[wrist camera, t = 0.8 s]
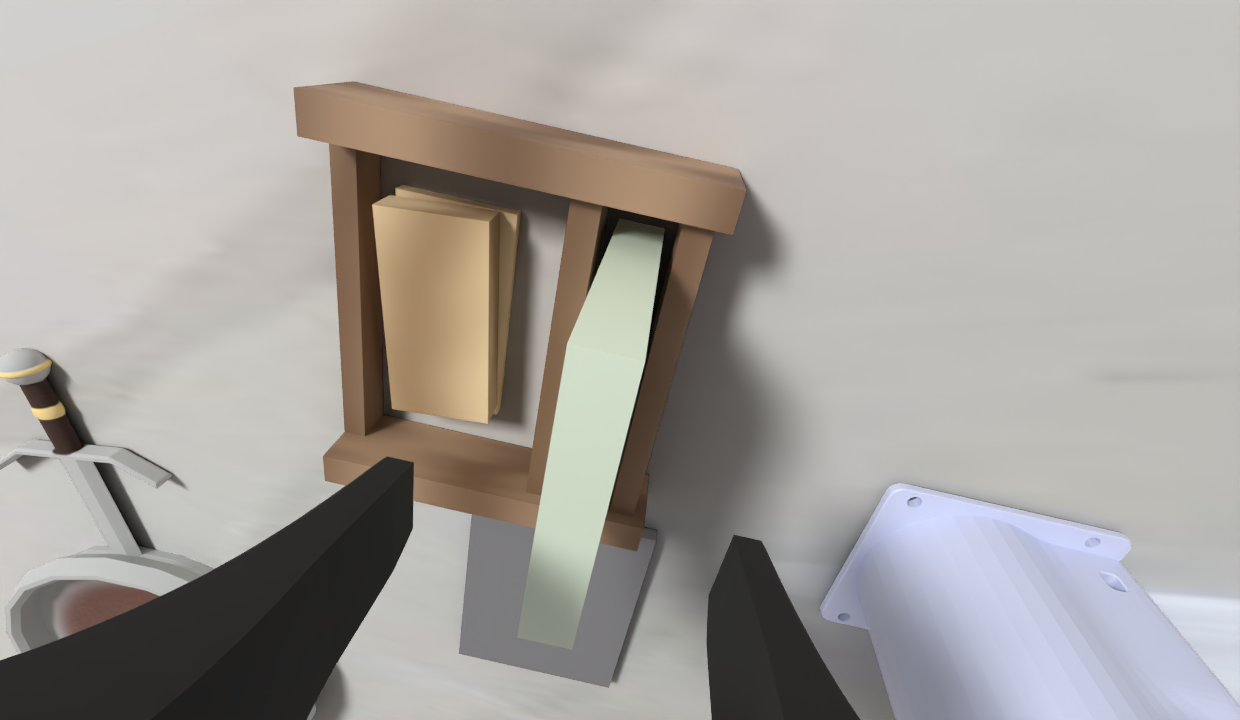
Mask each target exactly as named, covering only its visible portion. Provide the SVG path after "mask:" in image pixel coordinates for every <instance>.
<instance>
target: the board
mask: <svg viewBox="0 0 1240 720" xmlns="http://www.w3.org/2000/svg"><path fill="white" fill-rule="evenodd" d="M664 230H665V229H664V228H660V227H655V226H651V225H646V224H642V223H638V222H633V221H629V220H624V219H619V221H618V224H617V226H616V228H615V231H614V233H613V235H612V238H611V240H610V243H609V245H608V247H607V250H606V252H605V255H604V257H603V259H602V262H601V264H600V266H599V269H598V271H597V274H596V276H595V278H594V281H593V283H592V286H591V288H590V290H589V293H588V295H587V298H586V300H585V302H584V305H583V307H582V309H581V312H580V314H579V317H578V319H577V321H576V324H575V326H574V329H573V331H572V333H571V336H570V338H569V340H568V343H567V348H566V354H565V359H564V365H563V371H562V377H561V383H560V389H559V394H558V400H557V406H556V412H555V418H554V424H553V429H552V435H551V441H550V447H549V453H548V459H547V464H546V470H545V476H544V482H543V488H542V494H541V499H540V505H539V511H538V517H537V523H536V529H535V534H534V540H533V546H532V552H531V558H530V564H529V569H528V575H527V581H526V587H525V593H524V599H523V604H522V610H521V616H520V622H519V628H518V634H517V638H522V639H526V640H531V641H535V642H539V643H544V644H548V645H553V646H557V647H561V648H566V649H570V650H572V648H573V644H574V640H575V637H576V633H577V629H578V625H579V621H580V617H581V613H582V609H583V605H584V601H585V597H586V593H587V589H588V585H589V581H590V577H591V573H592V569H593V565H594V561H595V558H596V554H597V550H598V546H599V542H600V538H601V534H602V530H603V526H604V522H605V518H606V514H607V510H608V506H609V502H610V498H611V494H612V490H613V486H614V483H615V479H616V475H617V471H618V467H619V463H620V459H621V455H622V451H623V447H624V443H625V439H626V435H627V431H628V427H629V423H630V419H631V415H632V411H633V408H634V404H635V400H636V396H637V392H638V388H639V384H640V380H641V376H642V372H643V368H644V364H645V359H646V353H647V346H648V339H649V332H650V325H651V319H652V312H653V305H654V298H655V291H656V285H657V278H658V271H659V264H660V257H661V251H662V244H663V237H664Z"/></svg>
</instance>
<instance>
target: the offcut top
mask: <svg viewBox="0 0 1240 720" xmlns="http://www.w3.org/2000/svg"><path fill="white" fill-rule="evenodd" d="M372 208H373V218H374V228H375V239H376V249H377V259H378V270H379V280H380V290H381V301H382V311H383V321H384V331H385V342H386V352H387V362H388V373H389V383H390V393H391V404H392V409H395V410H402V411H408V412H415V413H421V414H428V415H434V416H441V417H447V418H454V419H460V420H467V421H473V422H480V423H486V424H488V423H489V421H490V419H491V417H492V415H493V413H494V411H495V408H496V406H497V372H498V308H499V244H500V211H495V210H488V209H481V208H474V207H468V206H461V205H454V204H447V203H440V202H434V201H427V200H420V199H413V198H406V197H400V196H393V195H389V196H387V197H385V198H383V199H381V200H380V201H378V202H376V203H374V204H372Z"/></svg>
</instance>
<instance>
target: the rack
mask: <svg viewBox="0 0 1240 720" xmlns="http://www.w3.org/2000/svg"><path fill="white" fill-rule="evenodd" d="M294 99H295V111H296V124H297V136H299V137H304V138H308V139H312V140H317V141H321V142H326V143H329V149H330V168H331V186H332V205H333V223H334V242H335V260H336V279H337V297H338V315H339V334H340V352H341V371H342V389H343V408H344V426H345V432H344V433H343V435H342V436H341V437H340V438H339V439H338V440H337V441H336V442H335V443H334V445H333V446H332V447H331V448H330V449H329V450H328V451H327V452H326V453H325V455H324V456H323V461H324V474H325V481H328V482H333V483H337V484H342V485H348V484H349V483H350V482H352V481H353V480H354V479H356V478H357V477H358V476H360V475H361V474H363V473H364V472H365V471H367V470H368V469H369V468H371V467H372V466H373V465H375V464H376V463H378V462H379V461H380V460H382V459H383V458H385V457H387V456H388V457H392V458H397V459H401V460H406V461H410V462H414V488H413V501H416V502H421V503H425V504H430V505H434V506H438V507H443V508H447V509H452V510H456V511H460V512H465V513H469V514H474V515H478V516H482V517H487V518H491V519H496V520H500V521H504V522H509V523H513V524H518V525H522V526H526V527H531V528H535V529H536V523H537V517H538V511H539V505H540V499H541V494H542V488H543V482H544V476H545V470H546V464H547V459H548V453H549V447H550V441H551V435H552V429H553V424H554V418H555V412H556V406H557V400H558V394H559V389H560V383H561V377H562V371H563V365H564V359H565V354H566V348H567V343H568V340H569V338H570V336H571V333H572V331H573V329H574V326H575V324H576V321H577V319H578V317H579V314H580V312H581V309H582V307H583V305H584V302H585V300H586V298H587V295H588V293H589V290H590V288H591V286H592V283H593V281H594V278H595V276H596V274H597V269H598V264H599V258H600V253H601V248H602V242H603V237H604V232H605V226H606V221H607V216H608V210H609V207H611V208H616V209H620V210H625V211H629V212H633V213H638V214H642V215H647V216H651V217H655V218H660V219H664V220H669V221H673V222H677V223H679V225H678V229H677V233H676V237H675V241H674V245H673V248H672V252H671V256H670V260H669V264H668V268H667V272H666V276H665V280H664V284H663V288H662V292H661V296H660V300H659V304H658V308H657V312H656V316H655V320H654V324H653V328H652V332H651V336H650V340H649V344H648V348H647V353H646V359H645V364H644V368H643V372H642V376H641V380H640V384H639V388H638V392H637V396H636V400H635V404H634V408H633V411H632V415H631V419H630V423H629V427H628V431H627V435H626V439H625V443H624V447H623V451H622V455H621V459H620V463H619V467H618V471H617V475H616V479H615V483H614V486H613V490H612V494H611V498H610V502H609V506H608V510H607V514H606V518H605V522H604V526H603V530H602V534H601V538H600V542H599V543H601V544H606V545H610V546H614V547H619V548H623V549H628V550H632V551H636V552H637V550H638V547H639V544H640V540H641V537H642V534H643V531H644V524H645V513H646V503H647V493H648V483H649V475H646V474H645V473H646V470H647V466H648V463H649V459H650V456H651V452H652V449H653V445H654V442H655V438H656V435H657V431H658V428H659V424H660V421H661V417H662V414H663V410H664V407H665V403H666V400H667V396H668V393H669V389H670V386H671V382H672V379H673V375H674V372H675V368H676V365H677V361H678V358H679V354H680V351H681V347H682V344H683V340H684V337H685V333H686V330H687V326H688V323H689V319H690V316H691V312H692V309H693V305H694V302H695V298H696V295H697V291H698V288H699V284H700V281H701V277H702V274H703V270H704V267H705V264H706V260H707V257H708V253H709V250H710V246H711V243H712V239H713V236H714V232H715V231H717V232H721V233H726V234H730V235H733V234H734V231H735V227H736V224H737V221H738V218H739V214H740V211H741V208H742V204H743V201H744V198H745V195H746V191H747V190H746V188H745V185H744V183H743V180H742V177H741V175H740V172H739V170H738V169H736V168H731V167H727V166H723V165H718V164H714V163H709V162H705V161H701V160H696V159H692V158H687V157H683V156H679V155H674V154H670V153H665V152H661V151H657V150H652V149H648V148H643V147H639V146H635V145H630V144H626V143H621V142H617V141H613V140H608V139H604V138H599V137H595V136H591V135H586V134H582V133H577V132H573V131H569V130H564V129H560V128H556V127H551V126H547V125H542V124H538V123H534V122H529V121H525V120H520V119H516V118H512V117H507V116H503V115H498V114H494V113H490V112H485V111H481V110H476V109H472V108H468V107H463V106H459V105H454V104H450V103H446V102H441V101H437V100H432V99H428V98H424V97H419V96H415V95H410V94H406V93H402V92H397V91H393V90H388V89H384V88H380V87H375V86H371V85H366V84H362V83H358V82H344V83H334V84H325V85H315V86H305V87H295V88H294ZM380 155H383V156H387V157H392V158H396V159H400V160H405V161H409V162H414V163H418V164H422V165H427V166H431V167H436V168H440V169H444V170H449V171H453V172H458V173H462V174H466V175H471V176H475V177H480V178H484V179H488V180H493V181H497V182H501V183H506V184H510V185H515V186H519V187H523V188H528V189H532V190H537V191H541V192H545V193H550V194H554V195H559V196H563V197H567V198H571V199H570V206H569V212H568V219H567V225H566V232H565V239H564V245H563V252H562V258H561V265H560V271H559V278H558V284H557V291H556V297H555V304H554V311H553V317H552V324H551V330H550V337H549V343H548V350H547V356H546V363H545V369H544V376H543V383H542V389H541V396H540V402H539V409H538V415H537V422H536V428H535V435H534V441H533V448H532V449H531V448H527V447H522V446H518V445H514V444H509V443H505V442H500V441H496V440H492V439H487V438H483V437H478V436H474V435H470V434H465V433H461V432H456V431H452V430H448V429H443V428H439V427H434V426H430V425H426V424H421V423H417V422H412V421H408V420H404V419H399V418H395V417H390V416H386V415H383V363H382V301H381V290H380V280H379V270H378V259H377V249H376V239H375V228H374V218H373V208H372V204H374V203H376V202H378V201H380V200H381V199H380Z"/></svg>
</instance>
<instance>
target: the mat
mask: <svg viewBox="0 0 1240 720" xmlns="http://www.w3.org/2000/svg"><path fill="white" fill-rule="evenodd" d="M534 534H535V528H531V527H526V526H522V525H518V524H513V523H509V522H504V521H500V520H496V519H491V518H487V517H482V516H478V515H474V514H472V519H471V529H470V540H469V551H468V562H467V573H466V584H465V594H464V605H463V616H462V627H461V638H460V648H459V654H463V655H467V656H472V657H476V658H481V659H485V660H489V661H494V662H498V663H503V664H507V665H511V666H516V667H520V668H525V669H529V670H533V671H538V672H542V673H547V674H551V675H555V676H560V677H564V678H569V679H573V680H577V681H582V682H586V683H591V684H595V685H599V686H604V687H608V688H609V686H610V683H611V680H612V676H613V673H614V670H615V667H616V664H617V661H618V658H619V655H620V652H621V649H622V645H623V642H624V639H625V636H626V633H627V630H628V627H629V624H630V621H631V618H632V615H633V611H634V608H635V605H636V602H637V599H638V596H639V593H640V590H641V587H642V584H643V581H644V577H645V574H646V571H647V568H648V565H649V562H650V559H651V556H652V553H653V550H654V546H655V543H656V538H657V530H653V529H649V528H644V531H643V534H642V537H641V540H640V544H639V547H638V550H637V552H636V551H632V550H628V549H623V548H619V547H614V546H610V545H606V544H601V543H599V546H598V550H597V554H596V558H595V561H594V565H593V569H592V573H591V577H590V581H589V585H588V589H587V593H586V597H585V601H584V605H583V609H582V613H581V617H580V621H579V625H578V629H577V633H576V637H575V640H574V644H573V648H572V650H570V649H566V648H561V647H557V646H553V645H548V644H544V643H539V642H535V641H531V640H526V639H522V638H517V634H518V628H519V622H520V616H521V610H522V604H523V599H524V593H525V587H526V581H527V575H528V569H529V564H530V558H531V552H532V546H533V540H534Z"/></svg>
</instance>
